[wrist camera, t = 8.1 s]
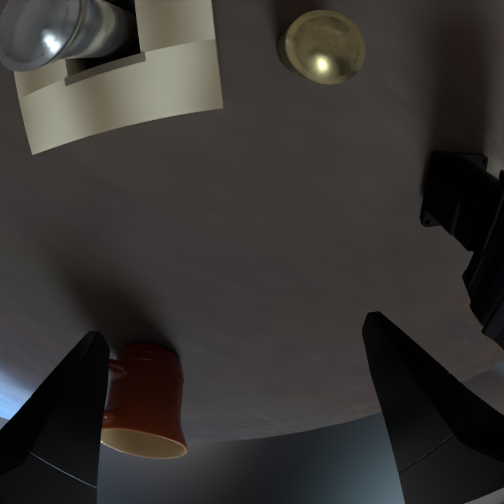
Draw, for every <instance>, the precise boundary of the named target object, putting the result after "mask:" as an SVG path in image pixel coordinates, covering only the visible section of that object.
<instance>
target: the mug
mask: <svg viewBox="0 0 504 504" xmlns="http://www.w3.org/2000/svg"><path fill="white" fill-rule="evenodd" d="M108 373H109V374H110V375H111V376H112V378H111V383H110V389H109V396H108V402H107V406H106V408H105V410H104V416H103V424H102V432H101V441H100V442H101V443H103V444H104V445H106V446H108V447H110V448H113V449H115V450H118V451H121V452H123V453H127V454H131V455H135V456H140V457H147V458H156V459H169V458H176V457H180V456H183V455H185V454H186V453H187V452H188V448H187V444H186V441H185V438H184V435H183V431H182V427H181V405H182V394H183V383H184V379H183V371H182V365H181V362H180V360H179V359H178V358H177V357H176V356H175V355H174V354H173V353H172V352H170V351H169V350H167V349H165V348H163V347H161V346H158V345H154V344H149V343H137V344H132V345H129V346H126V347H125V348H123V349H122V350H121V351H120V353H119V355H118V356H117V358H116V360H113V359H109V370H108Z"/></svg>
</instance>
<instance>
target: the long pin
mask: <svg viewBox="0 0 504 504" xmlns="http://www.w3.org/2000/svg"><path fill="white" fill-rule="evenodd" d="M137 38H138V27H137V18H136V17H135V16H134V15H133V14H132V13H131V12H129V11H126V10H124V9H122V8H120V7H118V6H115V5H113V4H111V3H109V2H106V1H104V0H9V2H8V3H7V4H6V6H5V8H4V9H3V11H2V13H1V16H0V61H1V63H2V64H3V65H4V66H5V67H7V68H8V69H10V70H12V71H16V72H25V71H31V70H37V69H41V68H44V67H47V66H49V65H51V64H53V63H54V62H56V61H57V60H60V59H73V58H92V57H115V56H119V55H121V54H123V53H125V52H127V51H128V50H129V49H130V48H131V47H132V46H133V45H134V43H135V42H136V40H137Z"/></svg>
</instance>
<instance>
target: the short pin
mask: <svg viewBox="0 0 504 504" xmlns="http://www.w3.org/2000/svg"><path fill="white" fill-rule="evenodd" d="M277 54H278V57H279V59H280V61H281V63H282V64H283V65H284V66H285V67H286V68H287V69H289V70H291V71H292V72H295V73H298V74H299V75H300V76H302V77H304V78H305V79H308V80H310V81H313V82H317V83H321V84H339V83H342V82H345V81H347V80H349V79H350V78H352V77H353V76H354V75H355V74H356V73H357V72H358V71H359V70H360V68H361V66H362V64H363V62H364V58H365V44H364V40H363V37H362V35H361V33H360V31H359V30H358V28H357V27H356V26H355V25H354V23H353V22H351V21H350V20H349V19H348V18H346V17H345V16H343V15H341V14H339V13H336V12H333V11H329V10H315V11H311V12H308V13H305V14H303V15H302V16H300V17H298V18H297V19H295V20H294V21H293V22H292V23H291V24H290V25H289V27H288V28H287V30H286V31H285V32H284V33H283V34H282V35H281V36H280V38H279V40H278V43H277Z"/></svg>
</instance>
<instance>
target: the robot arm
mask: <svg viewBox="0 0 504 504" xmlns="http://www.w3.org/2000/svg"><path fill="white" fill-rule="evenodd" d="M438 156H439V158H438V160H437V157H438ZM487 163H488V158H487V156H485V155H483V154H475V153H461V152H444V151H435V152H434V153H433V154H432V156H431V163H430V170H429V177H428V183H427V189H426V195H425V200H424V205H423V211H422V216H421V224H422V225H423V226H424V227H432V226H442V227H443V228H444V229H445V230H446V231H447V232H448V233H449V234H450V235H451V236H452V235H453V236H454V237H455V238H456V239H457V240H458V241H459V242H460V243H461V244H462V245H463V247H464V248H465V249H466V250H467V251H473V252H474V253H473V256H472V258H471V260H470V263H469V265H468V267H467V269H466V270H465V271H464V273H463V275H462V278H463V281H464V284H465V286H466V289H467V292H468V294H469V297H470V300H471V303H470V308H471V310H472V312H473V314H474V315H475V317H476V318H477V319H478V321H479V322H480V324H481V325H482V326H483V329H482V331H481V332H482V333H483V334H484V335H486V336H487V337H489V338H491V339H492V340H494V341H495V342H496V343H497V344H498V345H499V346H501V347H502V348H503V350H504V170H501V171H500V174H499V178H500V179H497V178H496V177H495V176H493V175H492V174H490V173H489V172H487V171H486V169H487ZM426 220H427V221H426ZM362 335H363V340H364V345H365V349H366V354H367V359H368V364H369V369H370V373H371V377H372V380H373V384H374V387H375V390H376V393H377V396H378V400H379V403H380V406H381V410H382V413H383V416H384V420H385V424H386V427H387V431H388V434H389V438H390V442H391V446H392V449H393V453H394V457H395V461H396V465H397V470H398V473H399V478H400V483H401V487H402V492H403V496H404V501H405V504H504V415H502V414H501V413H499V412H498V411H497V410H495V409H494V408H492V407H491V406H490V405H489V404H487V403H486V402H484V401H483V400H482V399H480V398H479V397H478V396H476V395H475V394H474V393H472V392H471V391H470V390H469V389H467V388H466V387H465V386H464V385H463V384H462V383H461V382H459V381H458V380H457V379H456V378H455V377H454V376H453V375H452V374H449V372H448V371H447V370H446V369H445V368H444V367H443V366H442V365H440V364H439V363H438V362H437V361H436V360H435V359H434V358H433V357H432V356H430V355H429V354H428V353H427V352H426V351H425V350H424V349H422V348H421V347H420V346H419V345H418V344H417V343H416V342H415V341H413V340H412V339H411V338H410V337H409V336H408V335H406V334H405V333H404V332H403V331H402V330H401V329H400V328H398V327H397V326H396V325H395V324H394V323H393V322H391V321H390V320H389V319H388V318H387V317H386V316H384V315H383V314H382V313H381V312H379V311H376V312H369V313H368V314H367V315H366V319H365V322H364V325H363V328H362ZM109 356H110V348H109V345H108V343H107V342H106V340H105V338H104V336H103V335H102V333H101V332H100V331H89V332H88V333H87V334H86V335H85V336H84V337H83V338H82V339H81V340H80V341H79V342H78V343H77V345H76V346H75V347H74V348H73V349H72V350H71V351H70V352H69V353H68V354H67V355H66V357H65V358H64V359H63V360H62V361H61V362H60V363H59V364H58V365H57V367H56V368H55V369H54V370H53V371H52V372H51V373H50V375H49V376H48V377H47V378H46V379H45V380H44V381H43V383H42V384H41V385H40V386H39V387H38V388H37V390H36V391H35V392H34V393H33V394H32V395H31V398H29V399H28V400H27V401H26V402H25V404H24V405H23V406H22V407H21V408H20V409H19V411H18V412H17V413H16V414H15V415H14V416H13V417H12V418H11V419H10V420H9V422H7V423H6V424H5V425H4V427H3V428H2V429H1V430H0V504H97V479H98V463H99V452H100V441H101V432H102V424H103V416H104V408H105V402H106V395H107V386H108V370H109Z"/></svg>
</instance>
